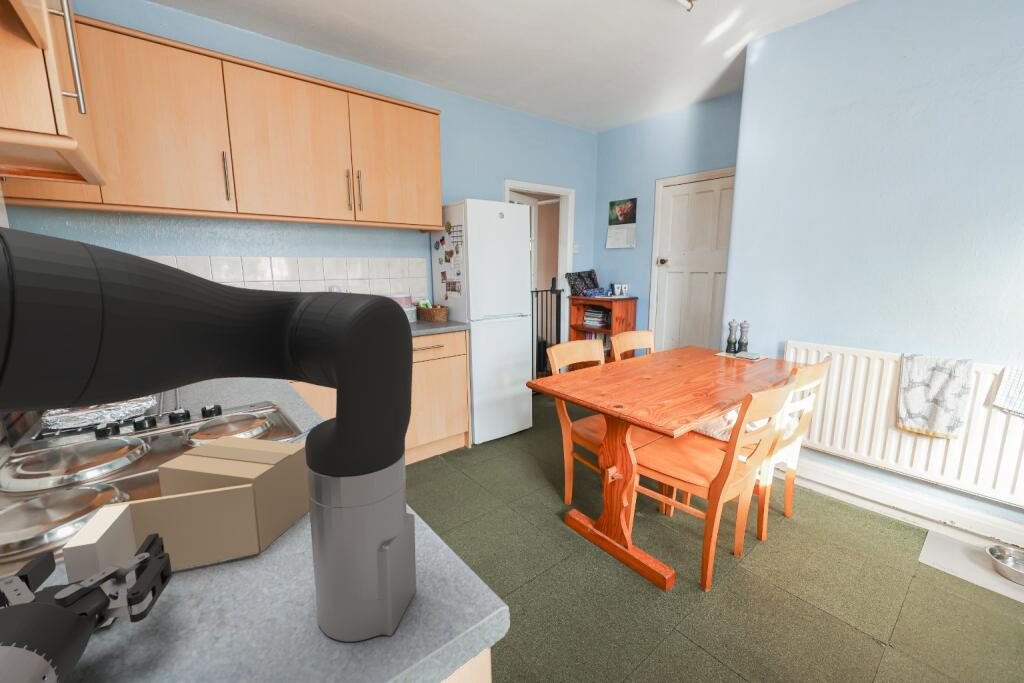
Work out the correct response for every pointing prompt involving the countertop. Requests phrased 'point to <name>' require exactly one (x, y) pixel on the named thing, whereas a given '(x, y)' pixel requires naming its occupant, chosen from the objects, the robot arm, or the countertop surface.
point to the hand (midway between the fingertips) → (104, 550)
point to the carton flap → (166, 531)
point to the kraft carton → (246, 478)
